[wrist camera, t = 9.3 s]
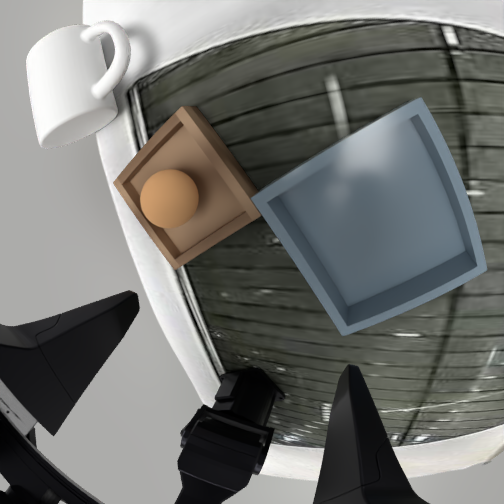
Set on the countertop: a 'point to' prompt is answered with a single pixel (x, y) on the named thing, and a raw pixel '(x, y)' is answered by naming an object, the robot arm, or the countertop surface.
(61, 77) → the mug
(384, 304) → the dish
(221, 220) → the tray
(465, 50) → the countertop surface
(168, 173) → the ball
